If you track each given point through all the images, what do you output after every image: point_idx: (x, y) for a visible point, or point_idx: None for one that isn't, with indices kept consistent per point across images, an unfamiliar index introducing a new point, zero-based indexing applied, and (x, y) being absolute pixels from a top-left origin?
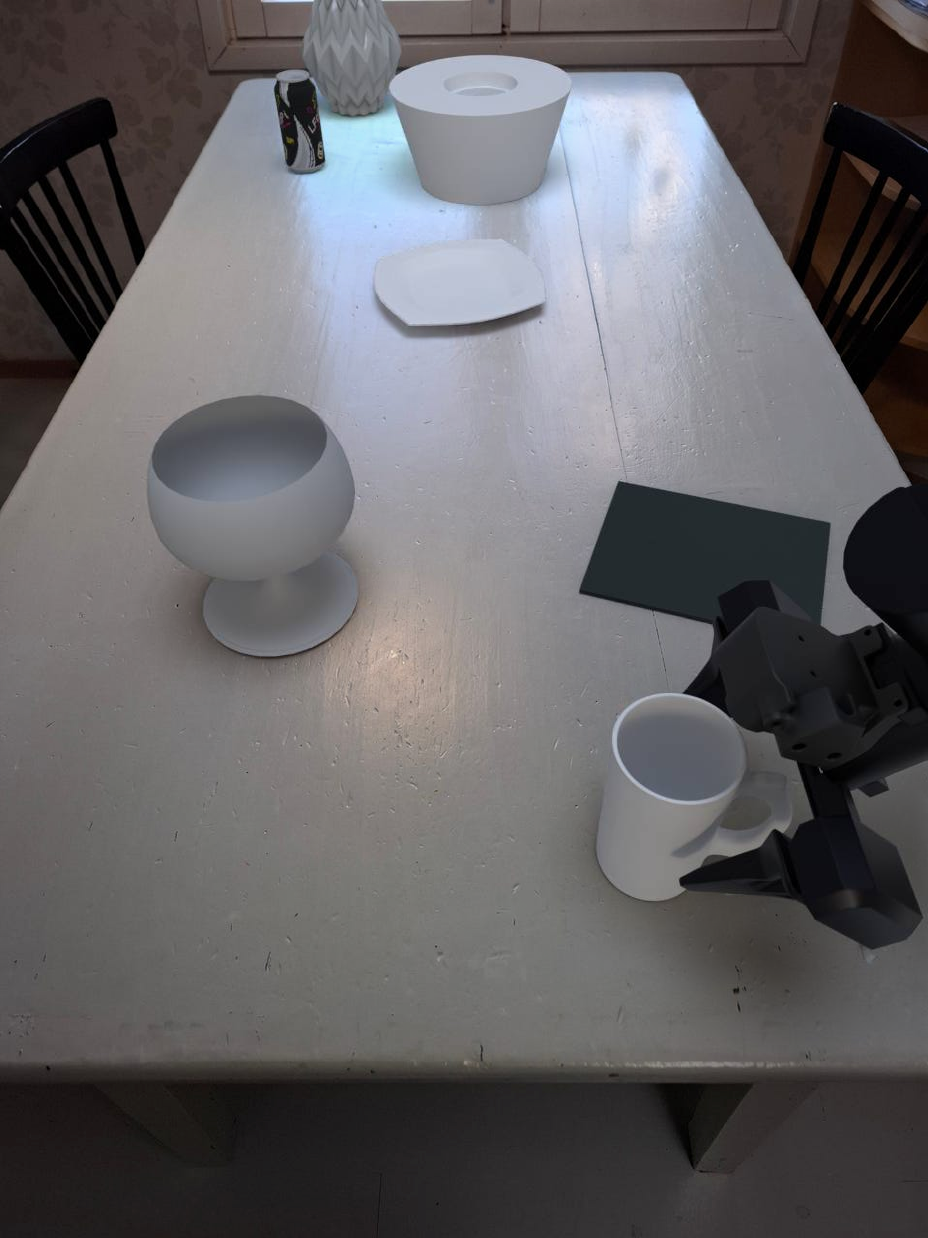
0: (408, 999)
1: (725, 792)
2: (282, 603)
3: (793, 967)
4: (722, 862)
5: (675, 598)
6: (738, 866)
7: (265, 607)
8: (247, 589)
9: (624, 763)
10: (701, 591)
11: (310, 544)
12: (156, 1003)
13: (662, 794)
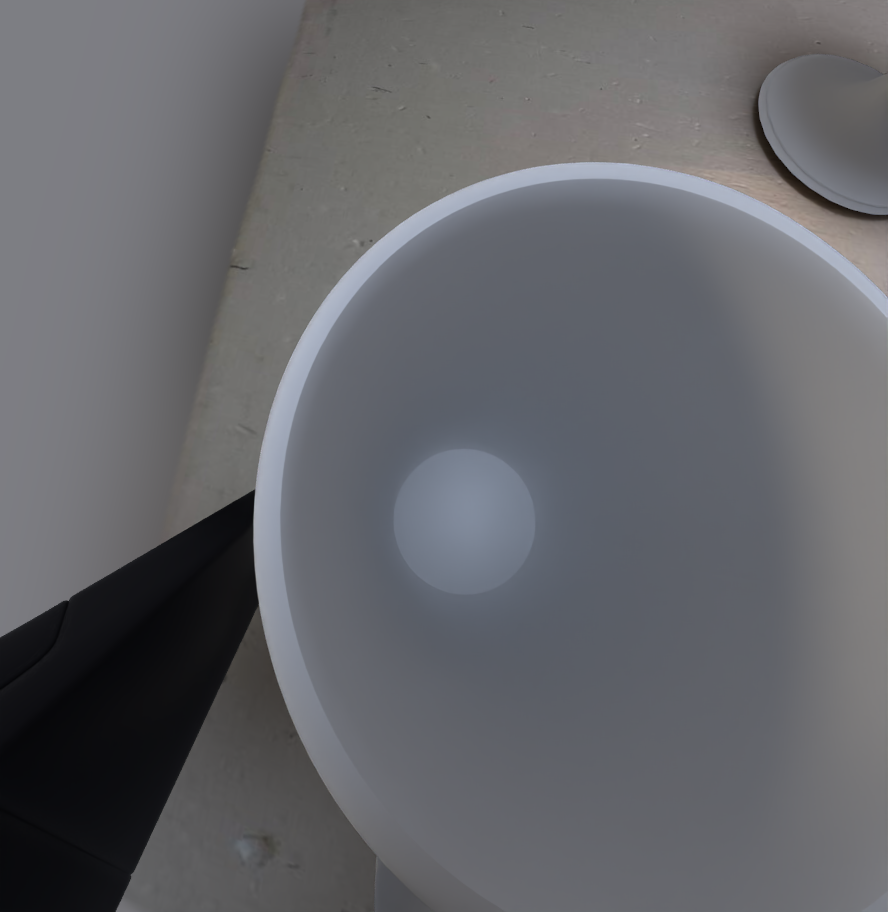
0: (315, 205)
1: (304, 704)
2: (848, 108)
3: (255, 701)
4: (161, 588)
5: None
6: (47, 646)
7: (838, 94)
8: (862, 80)
9: (598, 450)
10: None
11: None
12: (355, 4)
13: (544, 554)
